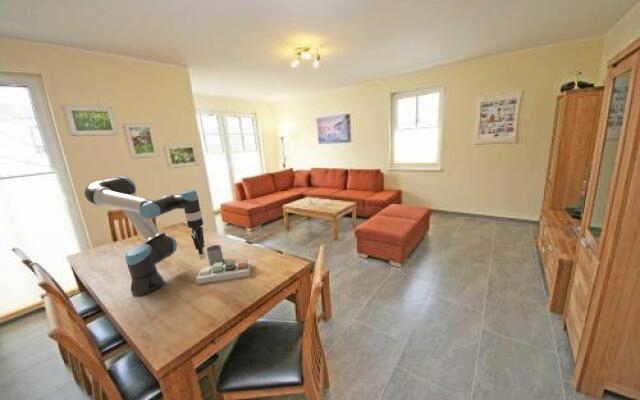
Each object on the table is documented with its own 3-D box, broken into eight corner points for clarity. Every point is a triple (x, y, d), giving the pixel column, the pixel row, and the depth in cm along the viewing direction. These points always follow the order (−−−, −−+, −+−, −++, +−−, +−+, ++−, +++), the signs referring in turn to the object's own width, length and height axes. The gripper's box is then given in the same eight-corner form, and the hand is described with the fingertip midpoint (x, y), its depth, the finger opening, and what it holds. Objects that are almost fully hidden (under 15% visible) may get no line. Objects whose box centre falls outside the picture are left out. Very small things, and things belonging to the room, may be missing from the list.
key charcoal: (226, 272, 142) (225, 265, 141) (227, 267, 147) (226, 261, 146) (234, 270, 143) (233, 264, 142) (236, 266, 148) (235, 260, 147)
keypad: (197, 284, 137) (196, 278, 136) (203, 273, 149) (202, 267, 148) (249, 276, 142) (248, 270, 141) (251, 265, 153) (250, 260, 152)
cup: (218, 265, 156) (215, 251, 154) (206, 265, 158) (203, 250, 155) (225, 259, 164) (223, 245, 161) (214, 258, 166) (211, 244, 163)
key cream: (200, 278, 141) (199, 272, 140) (203, 274, 145) (201, 268, 144) (209, 277, 141) (208, 270, 140) (211, 272, 146) (210, 266, 145)
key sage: (213, 273, 141) (212, 267, 140) (215, 269, 146) (213, 263, 145) (222, 272, 142) (220, 266, 141) (223, 268, 147) (222, 262, 145)
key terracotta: (238, 270, 143) (237, 263, 142) (239, 265, 148) (238, 259, 147) (247, 268, 144) (246, 262, 143) (248, 264, 149) (247, 258, 148)
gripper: (198, 222, 129) (206, 263, 135) (205, 214, 141) (212, 252, 147) (182, 223, 127) (192, 265, 134) (190, 216, 140) (199, 254, 146)
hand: (202, 258), depth 140 cm, fingers closed
